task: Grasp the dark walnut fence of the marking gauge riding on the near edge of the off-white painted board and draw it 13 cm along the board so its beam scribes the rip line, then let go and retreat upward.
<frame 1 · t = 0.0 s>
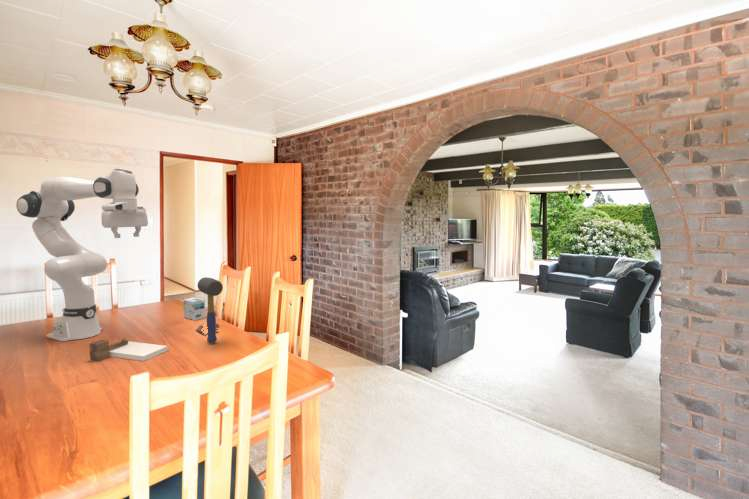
hand: (127, 237, 167), 48 cm above the table, fingers open, 8 cm apart
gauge: (110, 346, 155), point 4 cm above the table, slide at 0.0 cm
rubber mallet: (212, 343, 170), on the table
board: (135, 352, 158), on the table
wooden fragment: (207, 329, 192), on the table
light bulb box: (194, 318, 210), on the table
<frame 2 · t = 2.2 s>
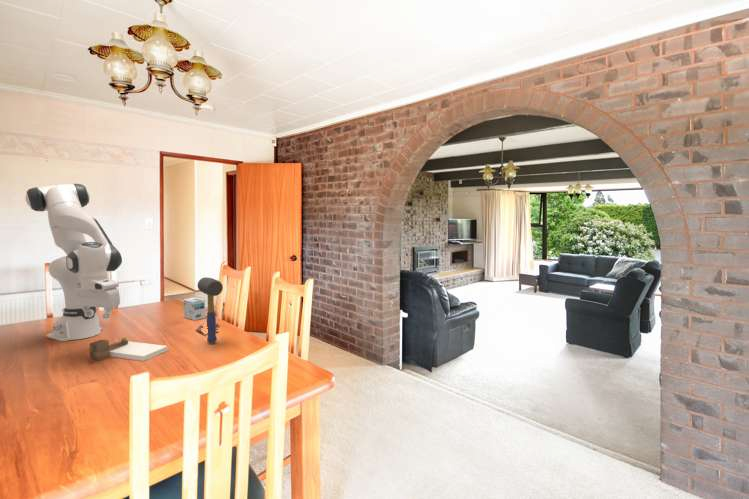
hand: (97, 317, 149), 17 cm above the table, fingers open, 8 cm apart
nothing on the table moved.
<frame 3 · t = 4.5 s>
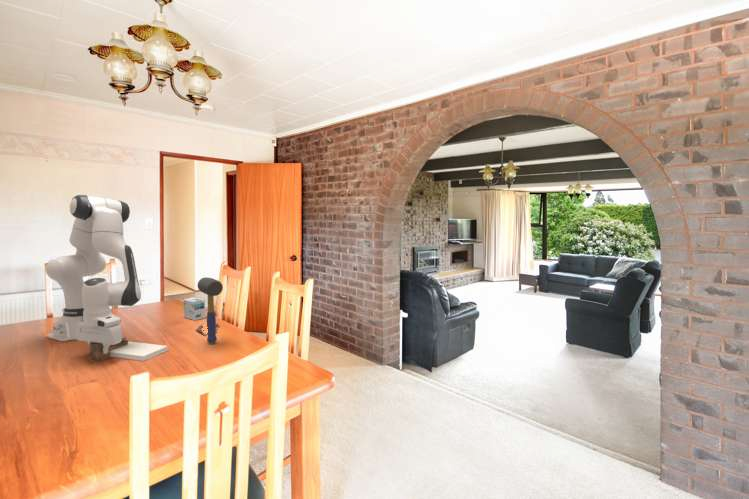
hand: (99, 352, 151), 3 cm above the table, fingers closed on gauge, 4 cm apart
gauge: (110, 346, 155), point 3 cm above the table, slide at 0.0 cm, touching gripper
everything else where it was.
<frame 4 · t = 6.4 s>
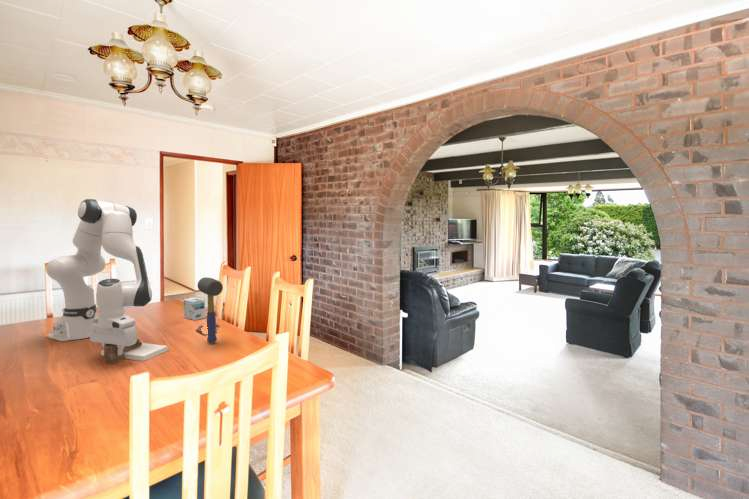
hand: (114, 354, 149), 3 cm above the table, fingers closed on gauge, 4 cm apart
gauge: (124, 348, 153), point 3 cm above the table, slide at 7.4 cm, touching gripper
everything else where it was.
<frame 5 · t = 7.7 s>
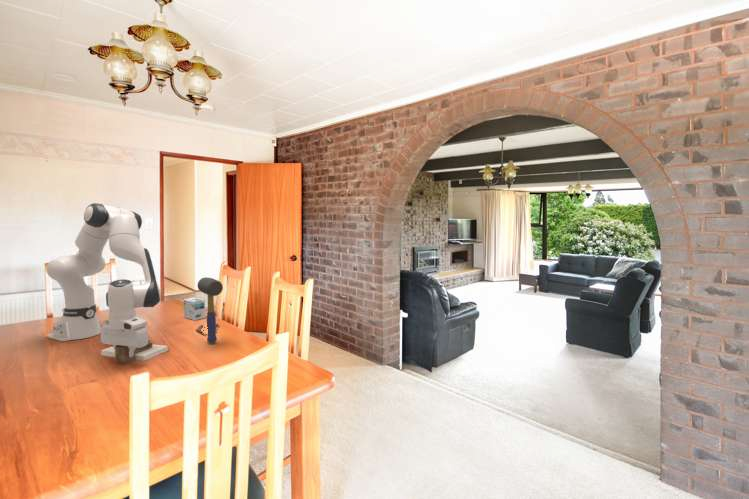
hand: (125, 355, 147), 3 cm above the table, fingers closed on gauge, 4 cm apart
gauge: (135, 349, 152), point 3 cm above the table, slide at 13.1 cm, touching gripper
everything else where it was.
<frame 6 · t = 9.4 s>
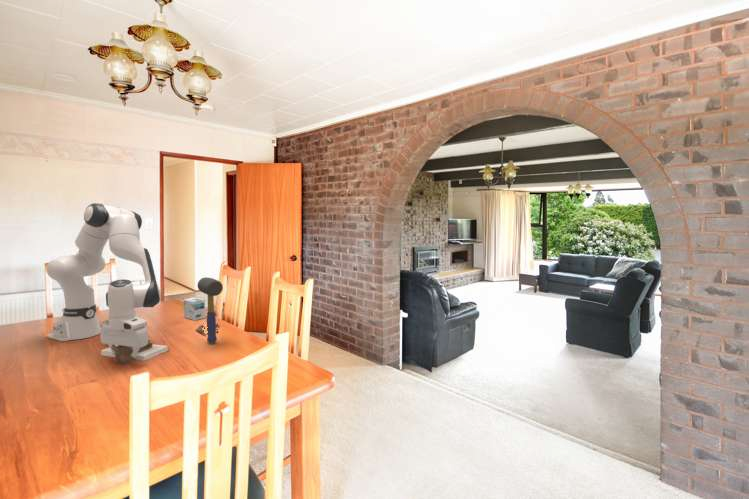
hand: (124, 355, 147), 3 cm above the table, fingers open, 8 cm apart
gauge: (135, 349, 152), point 4 cm above the table, slide at 13.1 cm
everything else where it was.
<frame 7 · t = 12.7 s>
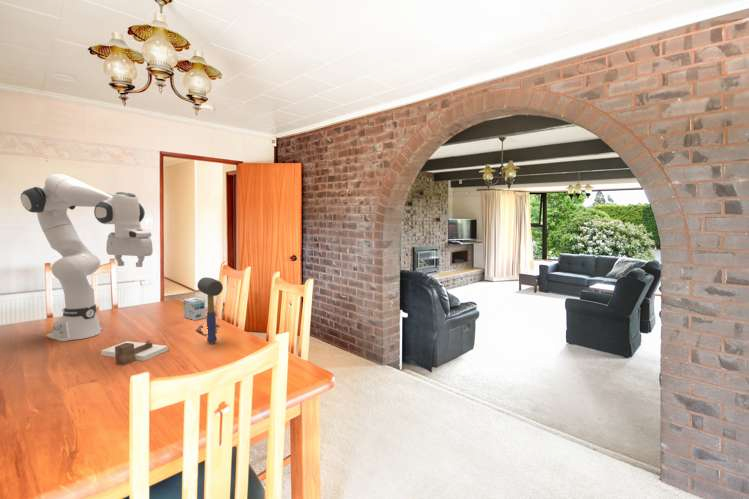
hand: (130, 266, 153), 37 cm above the table, fingers open, 8 cm apart
nothing on the table moved.
at the end: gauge slide at 13.1 cm; the gripper is holding nothing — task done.
